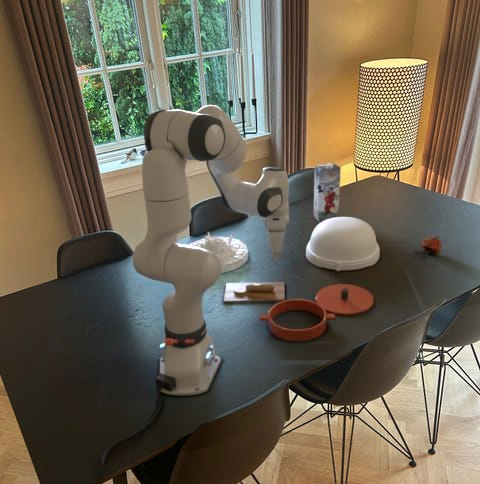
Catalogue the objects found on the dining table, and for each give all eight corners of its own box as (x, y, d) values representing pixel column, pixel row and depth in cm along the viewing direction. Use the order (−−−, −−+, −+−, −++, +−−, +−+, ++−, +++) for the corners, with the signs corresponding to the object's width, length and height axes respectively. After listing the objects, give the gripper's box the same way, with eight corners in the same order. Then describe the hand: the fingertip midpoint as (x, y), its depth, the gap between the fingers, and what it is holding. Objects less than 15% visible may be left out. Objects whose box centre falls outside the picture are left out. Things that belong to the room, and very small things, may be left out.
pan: (337, 342, 156) (337, 330, 154) (259, 342, 158) (258, 331, 156) (331, 309, 172) (332, 298, 170) (261, 310, 174) (260, 299, 172)
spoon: (274, 287, 185) (274, 281, 183) (274, 294, 181) (274, 287, 179) (234, 287, 186) (233, 281, 185) (233, 294, 182) (232, 288, 181)
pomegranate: (434, 264, 199) (449, 244, 199) (427, 253, 195) (443, 233, 195) (420, 259, 205) (435, 240, 205) (413, 249, 201) (428, 229, 201)
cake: (188, 279, 196) (186, 257, 191) (177, 250, 219) (174, 230, 214) (256, 266, 202) (255, 245, 196) (238, 240, 225) (237, 219, 219)
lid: (377, 316, 167) (378, 305, 165) (317, 316, 169) (317, 305, 166) (368, 286, 184) (369, 275, 181) (314, 287, 185) (314, 277, 183)
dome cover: (377, 275, 190) (380, 241, 182) (299, 269, 198) (299, 236, 190) (381, 240, 215) (384, 209, 208) (312, 236, 223) (312, 206, 215)
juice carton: (311, 218, 240) (312, 162, 225) (331, 214, 242) (334, 158, 227) (319, 225, 233) (321, 167, 218) (340, 221, 235) (343, 163, 220)
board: (284, 302, 178) (284, 299, 177) (223, 303, 180) (223, 300, 179) (284, 284, 188) (284, 281, 188) (226, 285, 190) (226, 283, 190)
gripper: (266, 204, 174) (267, 240, 182) (266, 228, 157) (267, 267, 165) (284, 203, 173) (285, 239, 181) (286, 227, 157) (286, 266, 164)
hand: (276, 253), depth 173 cm, fingers open, 8 cm apart
